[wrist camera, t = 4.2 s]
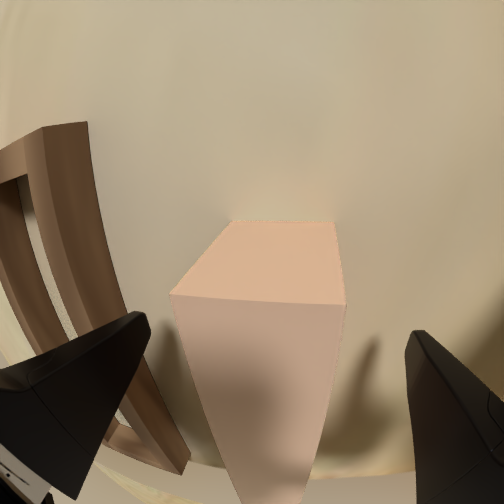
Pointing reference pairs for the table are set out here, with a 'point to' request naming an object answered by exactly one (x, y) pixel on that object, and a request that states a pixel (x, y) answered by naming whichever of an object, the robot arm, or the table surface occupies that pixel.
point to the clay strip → (265, 348)
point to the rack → (74, 276)
